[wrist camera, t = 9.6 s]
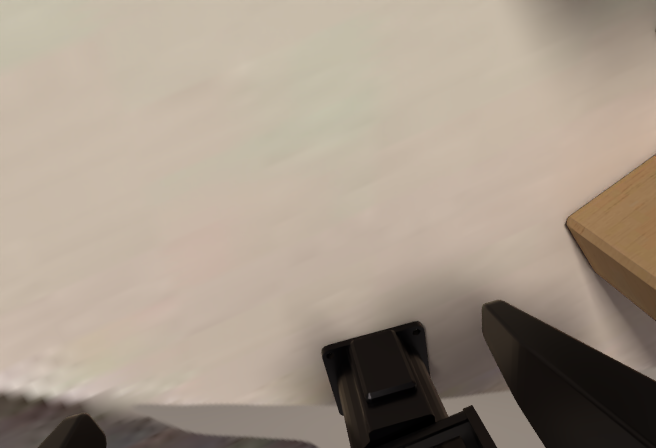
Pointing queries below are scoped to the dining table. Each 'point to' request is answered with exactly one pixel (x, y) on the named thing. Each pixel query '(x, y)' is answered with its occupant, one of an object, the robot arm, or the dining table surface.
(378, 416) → the robot arm
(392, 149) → the dining table surface
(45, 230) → the dining table surface
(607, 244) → the decorative block
